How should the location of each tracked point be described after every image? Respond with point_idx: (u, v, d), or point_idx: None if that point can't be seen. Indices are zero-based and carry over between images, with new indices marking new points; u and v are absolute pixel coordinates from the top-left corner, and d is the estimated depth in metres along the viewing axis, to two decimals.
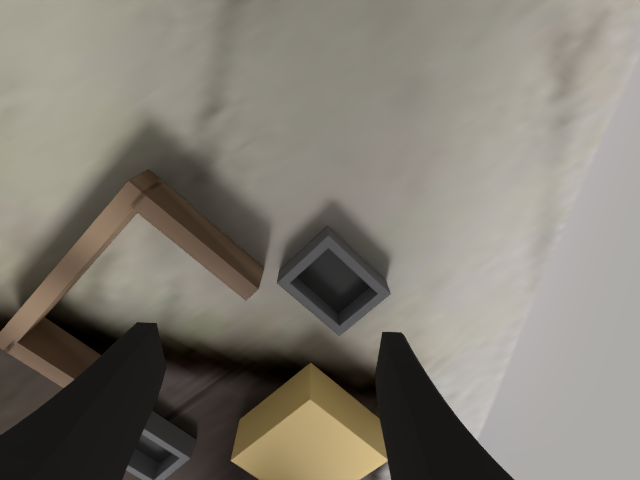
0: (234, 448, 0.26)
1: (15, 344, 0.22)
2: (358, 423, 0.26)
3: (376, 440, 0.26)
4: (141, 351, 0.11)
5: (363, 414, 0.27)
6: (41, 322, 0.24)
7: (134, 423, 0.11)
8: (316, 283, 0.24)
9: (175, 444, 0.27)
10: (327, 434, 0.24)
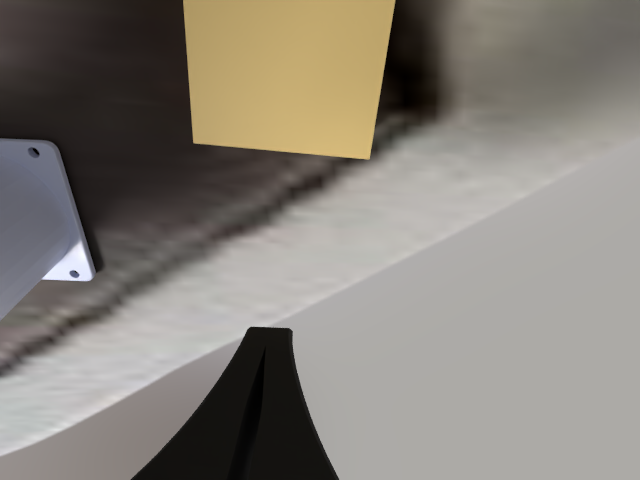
0: None
1: None
2: None
3: None
4: (264, 355, 0.11)
5: None
6: None
7: (258, 427, 0.11)
8: None
9: None
10: (354, 37, 0.14)
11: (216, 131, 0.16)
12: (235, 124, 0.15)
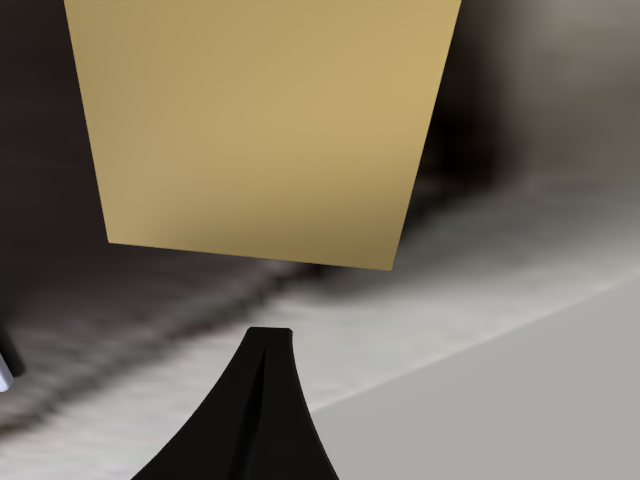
0: None
1: None
2: None
3: None
4: (264, 355, 0.11)
5: None
6: None
7: (258, 427, 0.11)
8: None
9: None
10: (377, 88, 0.08)
11: (144, 226, 0.10)
12: (175, 216, 0.09)
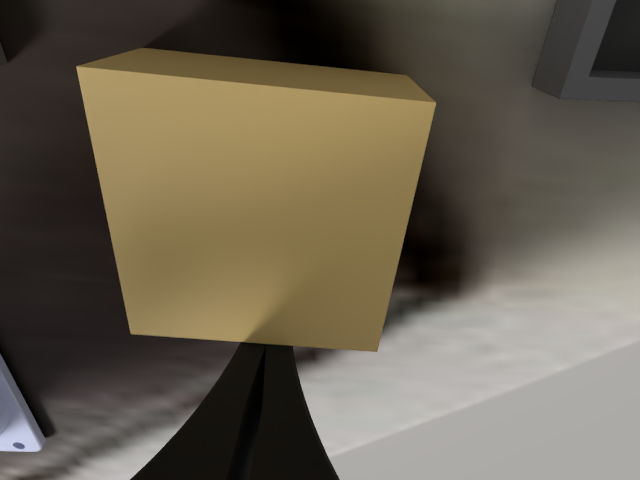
0: (103, 61, 0.08)
1: None
2: None
3: None
4: (264, 355, 0.11)
5: None
6: None
7: (257, 427, 0.11)
8: None
9: None
10: (357, 217, 0.09)
11: (162, 321, 0.11)
12: (188, 313, 0.11)
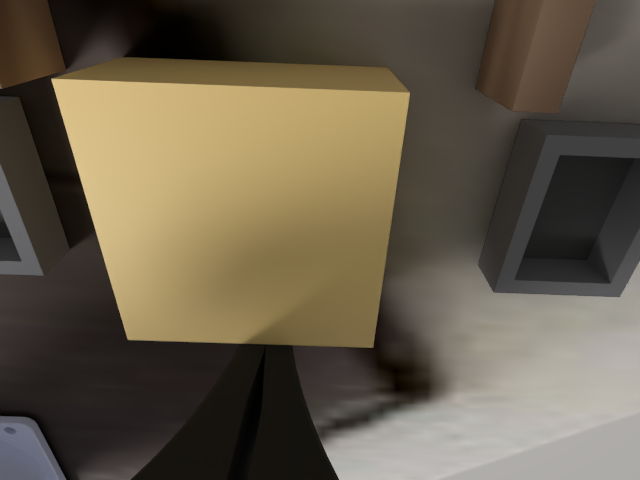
0: (79, 72, 0.08)
1: None
2: None
3: None
4: (264, 355, 0.11)
5: None
6: None
7: (258, 427, 0.11)
8: None
9: (34, 233, 0.12)
10: (341, 213, 0.09)
11: (157, 326, 0.11)
12: (182, 317, 0.11)
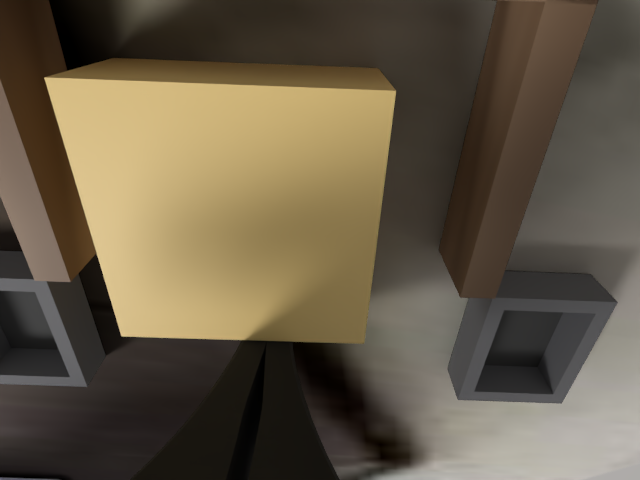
0: (72, 71, 0.09)
1: None
2: None
3: None
4: (264, 355, 0.11)
5: None
6: None
7: (258, 427, 0.11)
8: None
9: (81, 355, 0.15)
10: (330, 209, 0.09)
11: (150, 322, 0.11)
12: (175, 314, 0.11)
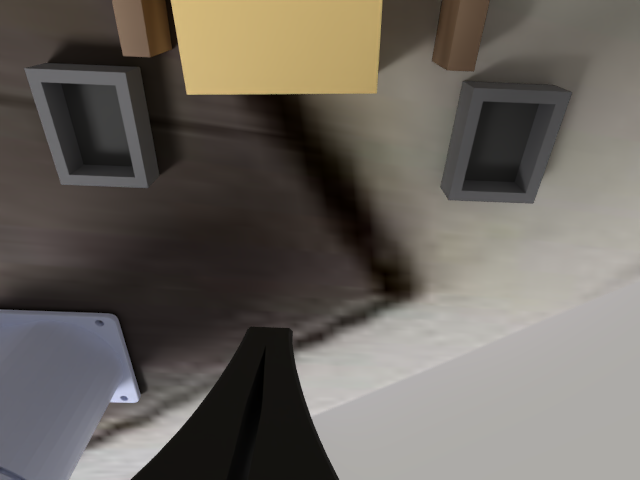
0: None
1: None
2: None
3: None
4: (264, 355, 0.11)
5: None
6: None
7: (258, 427, 0.11)
8: (476, 130, 0.18)
9: (144, 157, 0.18)
10: None
11: (209, 78, 0.15)
12: (228, 67, 0.14)
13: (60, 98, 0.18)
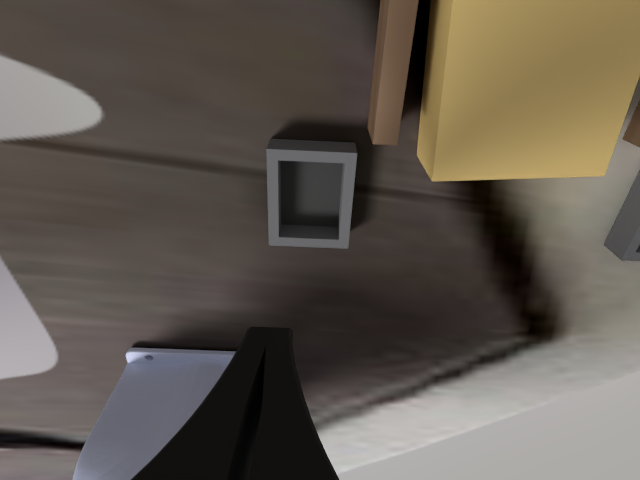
0: None
1: None
2: None
3: None
4: (264, 355, 0.11)
5: None
6: None
7: (258, 427, 0.11)
8: None
9: None
10: (610, 63, 0.14)
11: (456, 168, 0.16)
12: (476, 158, 0.16)
13: (280, 170, 0.19)
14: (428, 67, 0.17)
